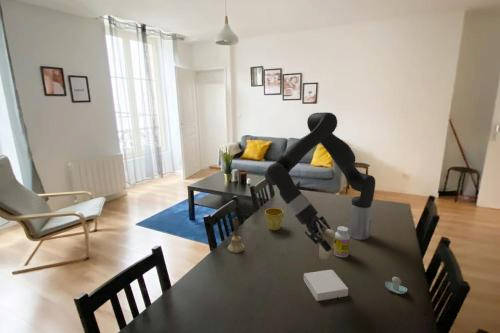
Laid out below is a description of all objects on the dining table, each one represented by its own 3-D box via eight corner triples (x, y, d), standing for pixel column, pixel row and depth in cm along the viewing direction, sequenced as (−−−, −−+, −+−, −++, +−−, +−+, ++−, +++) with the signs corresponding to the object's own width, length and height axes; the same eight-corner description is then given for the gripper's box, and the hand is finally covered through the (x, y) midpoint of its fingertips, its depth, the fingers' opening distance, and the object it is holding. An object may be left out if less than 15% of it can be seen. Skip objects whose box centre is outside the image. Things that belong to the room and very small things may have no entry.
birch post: (329, 252, 106) (331, 228, 103) (336, 259, 101) (338, 234, 98) (316, 253, 105) (317, 229, 102) (322, 261, 100) (324, 236, 97)
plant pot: (262, 230, 153) (262, 213, 150) (268, 222, 162) (268, 206, 160) (280, 233, 149) (280, 216, 146) (285, 225, 158) (285, 209, 156)
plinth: (331, 276, 113) (332, 269, 112) (347, 295, 101) (348, 288, 100) (303, 280, 110) (303, 273, 109) (316, 301, 99) (317, 293, 98)
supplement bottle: (340, 259, 124) (342, 233, 121) (330, 252, 130) (331, 227, 127) (351, 255, 127) (353, 229, 124) (340, 249, 133) (342, 224, 130)
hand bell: (234, 242, 140) (234, 212, 136) (248, 247, 135) (248, 216, 132) (224, 249, 133) (223, 218, 130) (237, 254, 129) (237, 222, 125)
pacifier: (387, 282, 109) (383, 290, 104) (388, 268, 107) (385, 275, 103) (408, 290, 104) (405, 298, 100) (410, 275, 103) (407, 283, 98)
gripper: (301, 209, 96) (334, 251, 93) (316, 197, 108) (345, 234, 104) (287, 220, 100) (317, 260, 97) (302, 207, 112) (330, 243, 108)
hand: (331, 246), depth 101 cm, fingers closed on birch post, 5 cm apart
